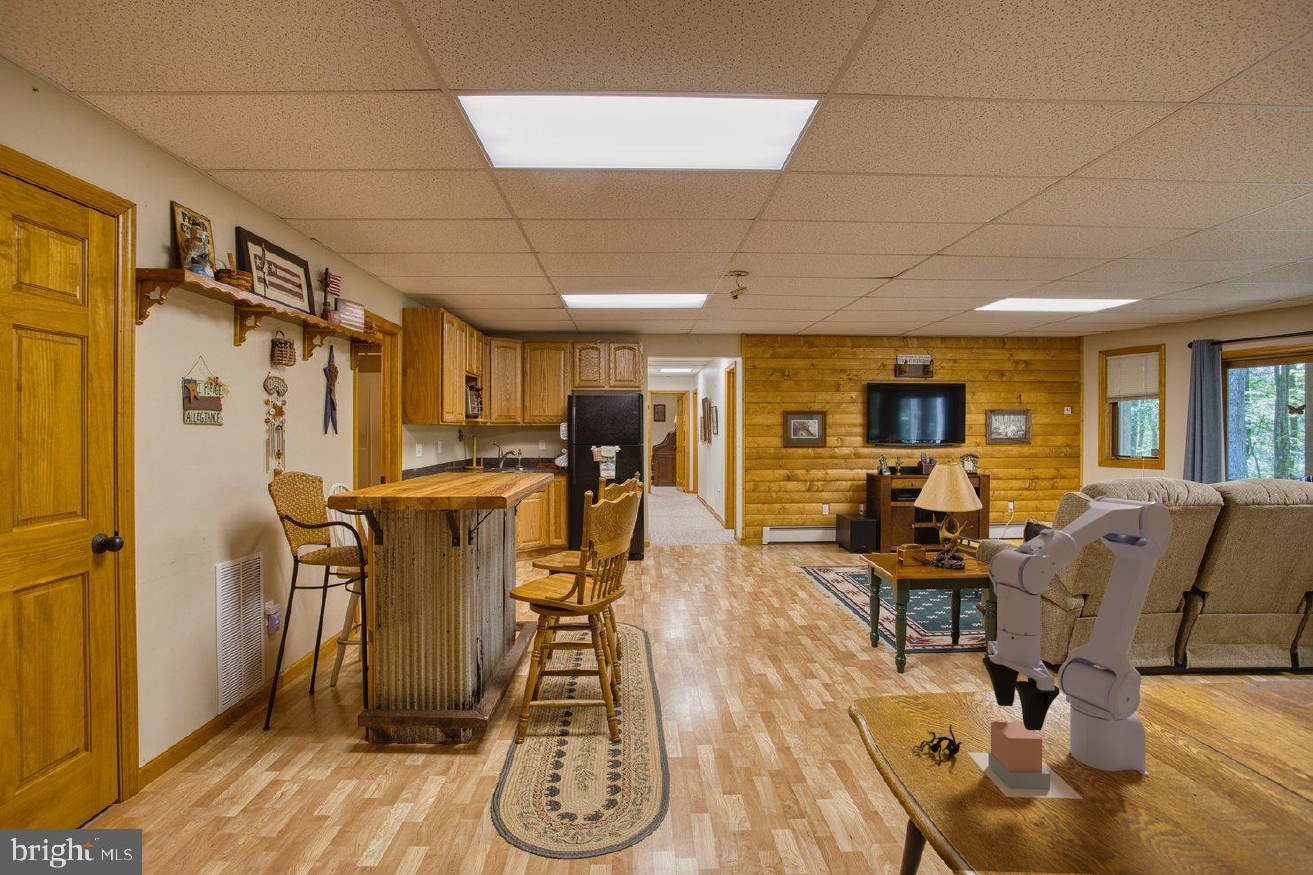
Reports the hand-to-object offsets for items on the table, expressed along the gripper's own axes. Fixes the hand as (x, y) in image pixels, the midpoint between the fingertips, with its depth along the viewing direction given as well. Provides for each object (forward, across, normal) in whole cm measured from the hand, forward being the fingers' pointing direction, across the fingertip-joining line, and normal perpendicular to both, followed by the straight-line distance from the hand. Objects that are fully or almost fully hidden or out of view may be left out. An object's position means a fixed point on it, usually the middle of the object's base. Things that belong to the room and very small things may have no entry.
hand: (1018, 716), depth 91 cm
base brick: (+10, 0, 0) cm, 10 cm away
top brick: (+7, 0, 0) cm, 7 cm away
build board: (+10, -1, +1) cm, 10 cm away
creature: (+11, -6, -10) cm, 16 cm away
